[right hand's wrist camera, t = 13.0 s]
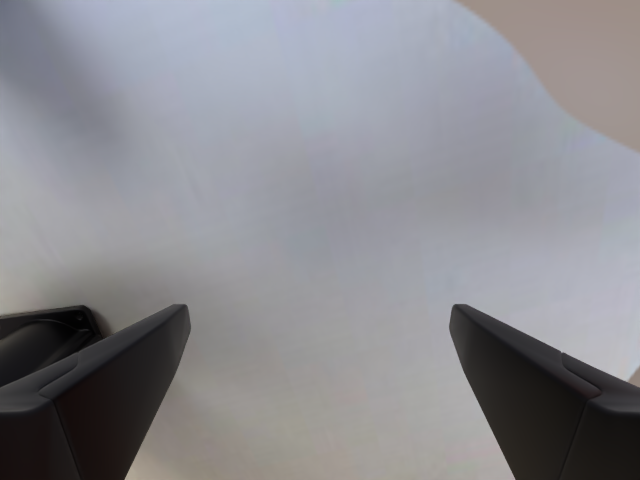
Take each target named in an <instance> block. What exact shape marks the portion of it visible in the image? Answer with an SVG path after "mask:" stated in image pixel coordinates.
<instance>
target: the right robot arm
mask: <svg viewBox="0 0 640 480" xmlns="http://www.w3.org/2000/svg"><path fill="white" fill-rule="evenodd" d="M79 312H80V313H82V315H81V314H80V313H79ZM190 330H191V324H190V318H189V311H188V307H187V305H185V304H173V305H171V306H169V307H167V308H165V309H163V310H161V311H159V312H157V313H155V314H153V315H151V316H149V317H147V318H145V319H143V320H141V321H139V322H137V323H135V324H133V325H131V326H129V327H127V328H125V329H123V330H121V331H119V332H117V333H115V334H113V335H111V336H109V337H107V338H105V339H103V337H102V335H101V333H100V331H99V329H98V326H97V324H96V322H95V320H94V317H93V315H92V313H91V311H90V309H89V308H87V307H86V306H83V305H79V306H72V307H65V308H57V309H50V310H43V311H35V312H28V313H21V314H14V315H6V316H0V480H124V479H125V477H126V475H127V473H128V471H129V469H130V467H131V465H132V463H133V461H134V459H135V456H136V454H137V452H138V450H139V448H140V446H141V444H142V442H143V440H144V438H145V436H146V434H147V432H148V429H149V427H150V425H151V423H152V421H153V419H154V417H155V415H156V413H157V411H158V409H159V407H160V405H161V402H162V400H163V398H164V396H165V394H166V392H167V390H168V388H169V386H170V384H171V382H172V380H173V377H174V375H175V373H176V371H177V368H178V366H179V363H180V360H181V357H182V354H183V351H184V348H185V345H186V342H187V340H188V337H189V334H190ZM449 330H450V334H451V337H452V340H453V342H454V345H455V348H456V351H457V354H458V357H459V360H460V363H461V366H462V368H463V371H464V373H465V375H466V377H467V380H468V382H469V384H470V386H471V388H472V390H473V392H474V394H475V396H476V398H477V400H478V402H479V405H480V407H481V409H482V411H483V413H484V415H485V417H486V419H487V421H488V423H489V425H490V427H491V429H492V432H493V434H494V436H495V438H496V440H497V442H498V444H499V446H500V448H501V450H502V452H503V454H504V456H505V459H506V461H507V463H508V465H509V467H510V469H511V471H512V473H513V475H514V477H515V479H516V480H640V388H639V387H637V386H635V385H632V384H630V383H628V382H626V381H623V380H621V379H619V378H616V377H614V376H612V375H610V374H608V373H605V372H603V371H601V370H599V369H596V368H594V367H592V366H590V365H588V364H586V363H584V362H582V361H580V360H578V359H575V358H573V357H571V356H569V355H567V354H565V353H561V351H559V350H557V349H555V348H553V347H551V346H549V345H547V344H545V343H543V342H541V341H539V340H537V339H535V338H533V337H531V336H529V335H527V334H525V333H523V332H521V331H519V330H517V329H515V328H513V327H511V326H509V325H507V324H505V323H503V322H501V321H499V320H497V319H495V318H493V317H491V316H489V315H487V314H485V313H483V312H481V311H479V310H477V309H475V308H473V307H471V306H469V305H467V304H455V305H453V307H452V311H451V318H450V324H449Z"/></svg>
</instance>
